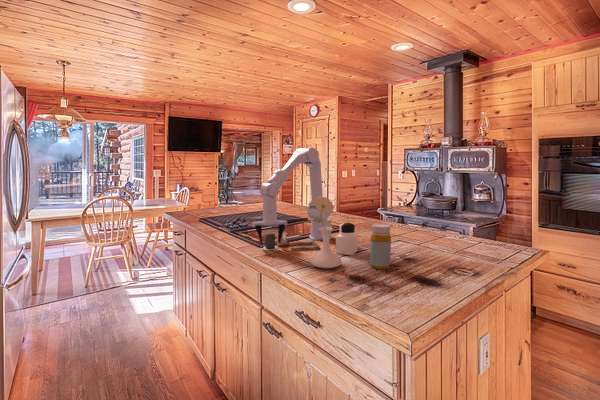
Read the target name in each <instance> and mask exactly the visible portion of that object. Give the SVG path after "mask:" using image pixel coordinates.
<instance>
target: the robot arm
mask: <svg viewBox="0 0 600 400" xmlns="http://www.w3.org/2000/svg"><path fill="white" fill-rule="evenodd" d="M319 152H320V151H319V150H317V149H316V148H315V147H304V148H302V147H298V148H296V149H295V151H293V152H292V156H291V157H290V158H289V160H288V161H287V162H286V164H285V165H284V166H283V168H282V169H277V170H275V171H274V172H273V175H272V176H271V177H270V178H269V179H267V182H263V183H262V184H261V186H260V188H259V193H260V194H261V199H262V220H258V221H257V220H256V221H252V223H251V224H252V227H253V228H255V230H256V233H257V234H258V238H259V244H261V245H262V244H263V236H262V235H263V234H262V231H263V228H262V227H273V226H274V227H277V233H278V243H280V240H281V236H282V233H283V234H284V231H285V229H286V227H285V226H288V221H287V220H279V219H277V217H278V215H277V211H278V209H277V196H278V195H279V193H280V189H281V187H282V186H284V184H285V183H286V182H287V181H288V179H289V174H291V172H293V170H294V169H295V168H296V167H298V165H300V164H304V165H305V166H307V168H309V169H308V171H309V183H310V197H311V201H310V202H309V203H308V209H307V215H308V217H309V219H310V235H308V237H309V239H310V240H311V241H321V240H322V241H323V236H322V232H321V230H320V229H319V228H320V227H324V226H325V227H332V221H331V222H329V223H327V224H325V223H326V222H327V221H330V220H331V219H329V217H330V215H331V214H329V213H328V214H324V213H323V212H322V214H321V212H320V211H319V210H318V209H317V208H316V206H315V205H314V203H315V202H314V201H315V200H314V199H316V198H317V197H318V196H322V197H323V198H324V192H323V179H322V178H323V177H322V165H321V164H322V163H321V159H320V153H319ZM320 214H321V220H322V222H323V224H324V226H323V224H322V222H320V223H318V222H315V221H313V220H314V218H315V217H318V218H319V219H320ZM329 240H332V233H331V234H330V239H329Z"/></svg>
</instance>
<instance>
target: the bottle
mask: <svg viewBox="0 0 600 400" xmlns="http://www.w3.org/2000/svg"><path fill="white" fill-rule="evenodd" d="M369 243H370V245H369V246H370V248H369V251H370V254H369V255H370V256H369V265H370V267H371V268H373V269H376V270H380V271H381V270H388V269H389V268H390V267H391V255H392V254H391V253H392V252H391V250H392V248H391V247H392V237H391V225H390V224H387V223H372V225H371V236H370V242H369Z"/></svg>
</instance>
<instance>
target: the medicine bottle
mask: <svg viewBox="0 0 600 400" xmlns="http://www.w3.org/2000/svg"><path fill="white" fill-rule="evenodd" d="M355 231H356V227H355V223H352V222H343V223H340V224H339V234H338V235H336V237H335V254H336V255H337V254H338V255H345V256H346V255H347V256H353V255H355V254H356V252H358V241H359V239H358V238H359V237H358V234H356V233H355Z"/></svg>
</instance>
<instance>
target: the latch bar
mask: <svg viewBox="0 0 600 400" xmlns="http://www.w3.org/2000/svg"><path fill="white" fill-rule="evenodd" d="M285 245H288V237H287V235H286V233H284V232H283V233H282V236H281V240H280V243H278V232H277V233H276V246H282V247H283V246H285Z"/></svg>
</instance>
